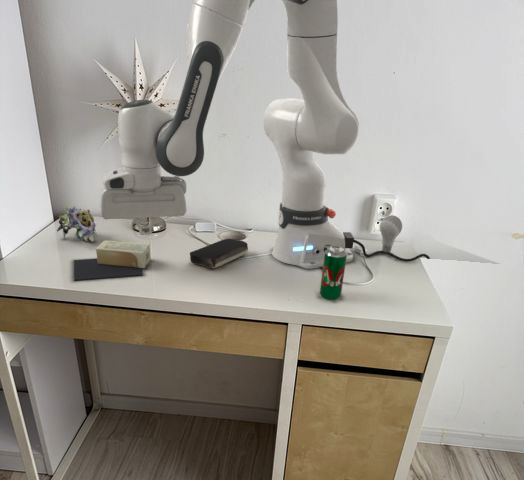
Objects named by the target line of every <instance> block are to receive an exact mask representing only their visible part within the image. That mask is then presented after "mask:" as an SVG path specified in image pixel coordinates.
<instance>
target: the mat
mask: <svg viewBox="0 0 524 480" xmlns="http://www.w3.org/2000/svg"><path fill="white" fill-rule="evenodd" d="M141 276H143V271H142V268H136V267H126V266H115V265H105V264H98V260H97V258H85V259H84V258H83V259H74V260H73V281H74V282H76V281H77V282H79V281H90V280H101V279H102V280H103V279H116V278H127V277H129V278H130V277H141Z"/></svg>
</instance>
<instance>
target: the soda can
mask: <svg viewBox="0 0 524 480" xmlns="http://www.w3.org/2000/svg"><path fill="white" fill-rule="evenodd" d="M346 258H347V253H346V249H345V248H343V247H340V246H329V247H327V250H326V251H325V255H324V263H323V267H322V272H321V280H320V286H319V287H320V288H319V295H320V297H321V298H322V299H324V300H327V301H336V300H339V299H340V298H341V296H342V291H343V284H344V278H345V271H346V263H347V262H346Z"/></svg>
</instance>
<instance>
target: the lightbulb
mask: <svg viewBox="0 0 524 480" xmlns="http://www.w3.org/2000/svg"><path fill="white" fill-rule="evenodd" d="M402 230H403V222H402V220H401V219H400V217H398V216H397V215H392V214H391V215H387V216H385V217H383V218H382V219H381V221H380V223H379V231H380V234H381V239H382V241H381V244H382V247H381V251H384V252H390V253H392V247H393V246H394V244H395V240H396V239H397V237H398V236H400V234H401V232H402Z"/></svg>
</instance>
